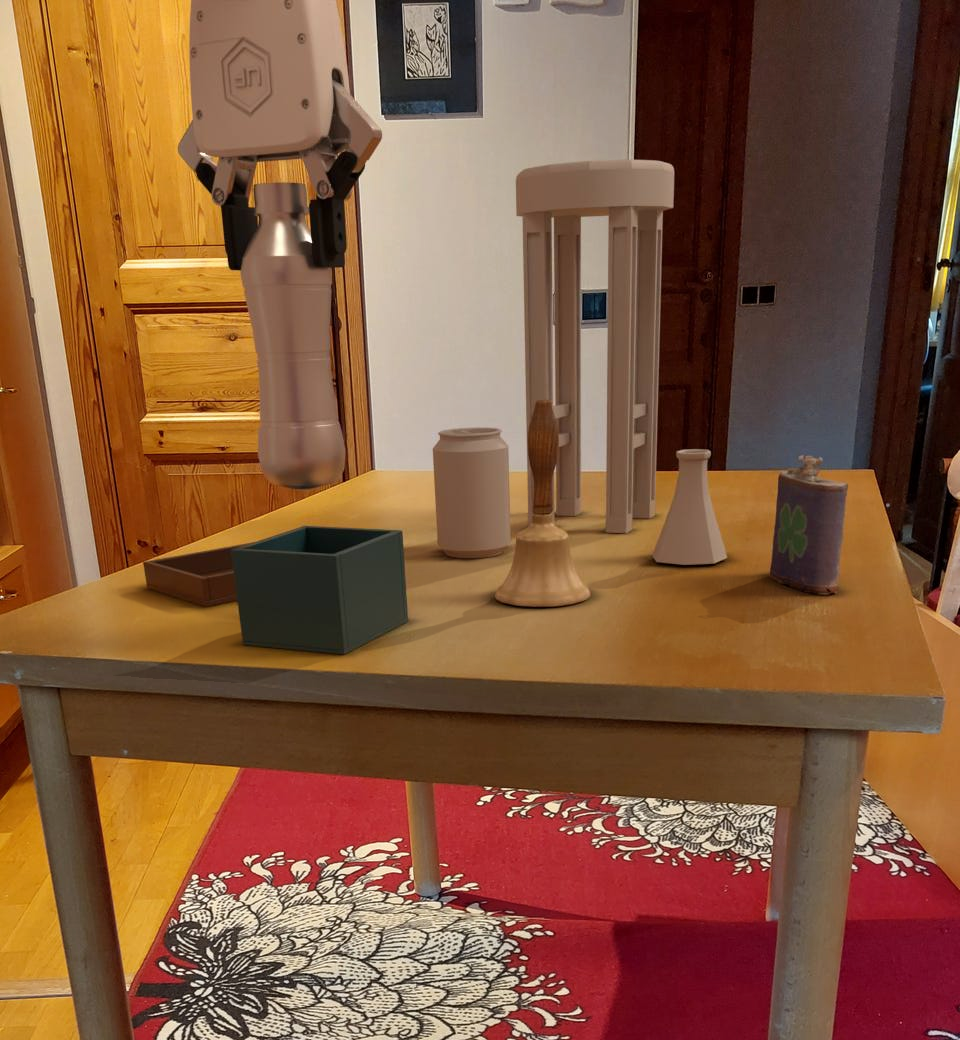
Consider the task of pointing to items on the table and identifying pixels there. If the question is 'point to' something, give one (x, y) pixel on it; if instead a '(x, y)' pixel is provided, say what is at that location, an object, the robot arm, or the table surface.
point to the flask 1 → (691, 517)
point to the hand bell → (542, 531)
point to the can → (472, 492)
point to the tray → (195, 576)
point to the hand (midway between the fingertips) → (286, 266)
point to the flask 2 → (808, 529)
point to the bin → (321, 588)
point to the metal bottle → (291, 343)
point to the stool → (631, 320)
